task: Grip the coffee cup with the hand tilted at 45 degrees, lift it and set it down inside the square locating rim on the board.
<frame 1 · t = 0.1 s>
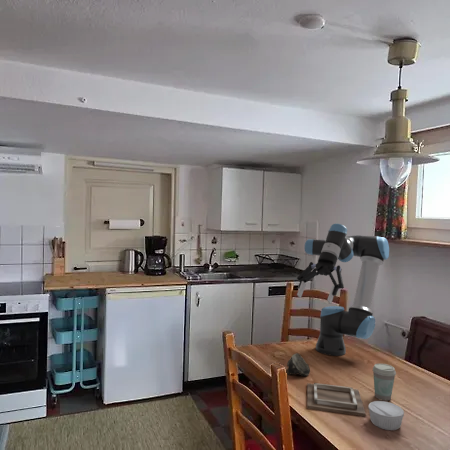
hand: (313, 299, 161), 36 cm above the table, tool tilted 35°, fingers open, 13 cm apart
locating board: (334, 399, 150), on the table
fossil: (298, 374, 175), on the table
ramekin: (385, 424, 134), on the table
coffee cup: (382, 397, 154), on the table
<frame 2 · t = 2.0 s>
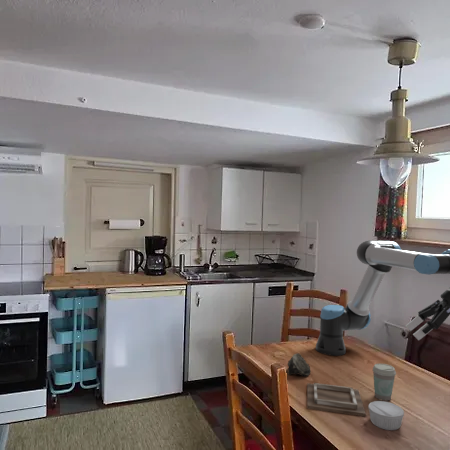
hand: (411, 332, 152), 26 cm above the table, tool tilted 45°, fingers open, 13 cm apart
nothing on the table moved.
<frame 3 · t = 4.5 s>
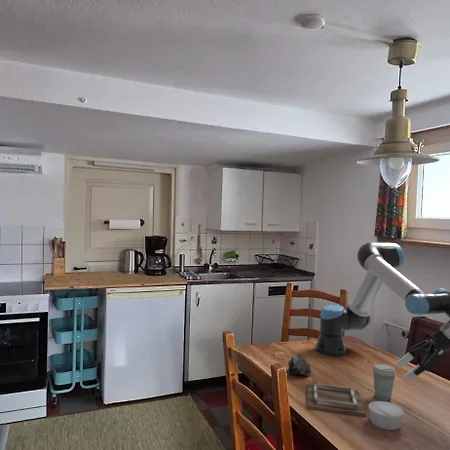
hand: (402, 371, 152), 11 cm above the table, tool tilted 45°, fingers open, 13 cm apart
nothing on the table moved.
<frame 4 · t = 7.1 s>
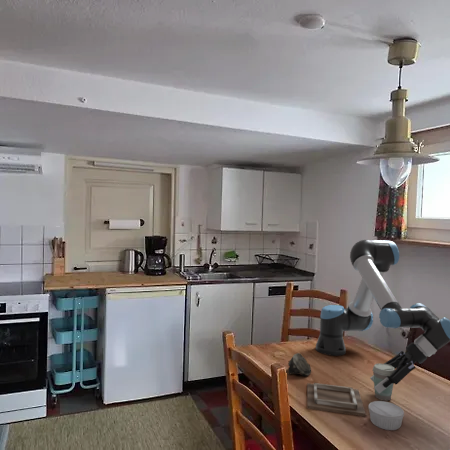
hand: (374, 385, 155), 4 cm above the table, tool tilted 45°, fingers closed on coffee cup, 8 cm apart
coffee cup: (382, 397, 154), on the table, touching gripper
everything else where it was.
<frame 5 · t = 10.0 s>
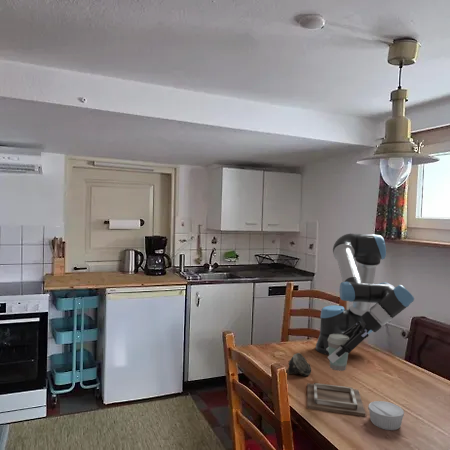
hand: (329, 355, 151), 17 cm above the table, tool tilted 45°, fingers closed on coffee cup, 8 cm apart
coffee cup: (337, 368, 150), point 12 cm above the table, touching gripper
everything else where it was.
when the fingers open (7 cm above the table, at t = 12.9 s): coffee cup drops 1 cm, resting on locating board.
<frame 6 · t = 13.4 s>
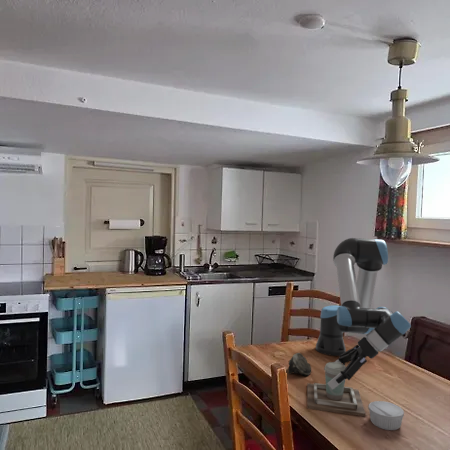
hand: (328, 379, 151), 8 cm above the table, tool tilted 45°, fingers open, 13 cm apart
coffee cup: (334, 397, 151), point 1 cm above the table, touching locating board
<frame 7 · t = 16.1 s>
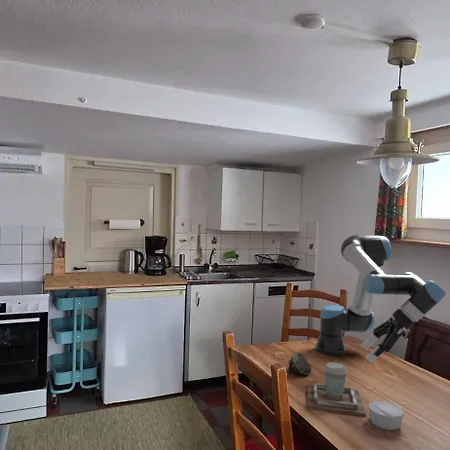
hand: (365, 353, 150), 18 cm above the table, tool tilted 40°, fingers open, 13 cm apart
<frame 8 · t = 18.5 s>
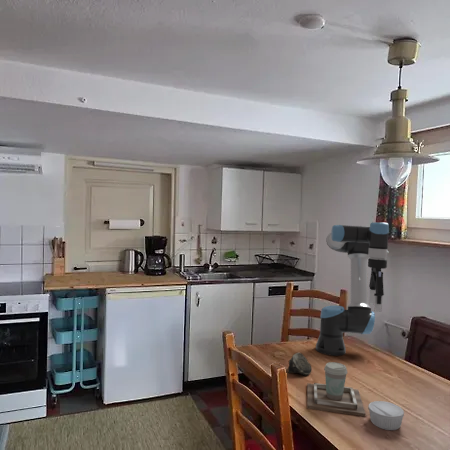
hand: (375, 308, 169), 32 cm above the table, tool pointing down, fingers open, 13 cm apart
at the end: coffee cup inside the target area on the locating board (0.3 cm from its centre), point 0.8 cm above the locating board's base; coffee cup tilted 0°; the gripper is holding nothing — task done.
